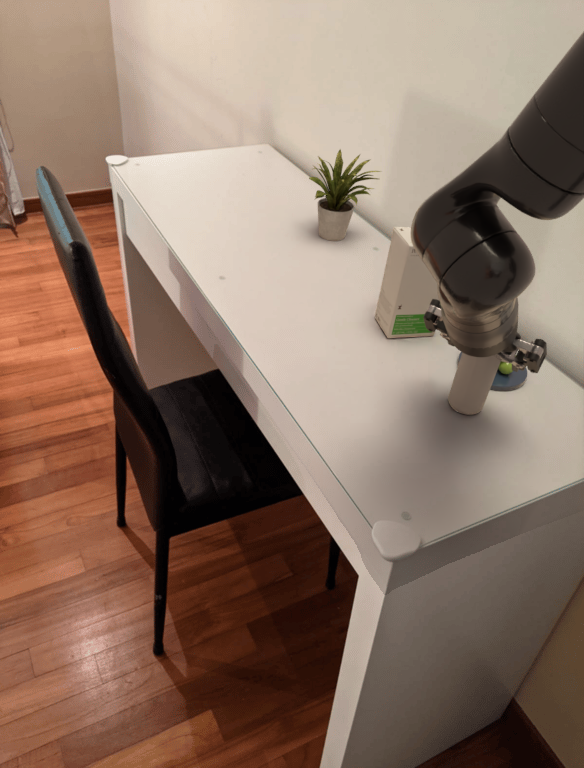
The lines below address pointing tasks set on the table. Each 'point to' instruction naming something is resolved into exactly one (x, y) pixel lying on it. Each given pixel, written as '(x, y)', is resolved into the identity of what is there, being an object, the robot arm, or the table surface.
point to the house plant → (338, 197)
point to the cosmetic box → (404, 289)
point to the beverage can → (472, 383)
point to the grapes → (506, 377)
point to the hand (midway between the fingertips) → (485, 351)
